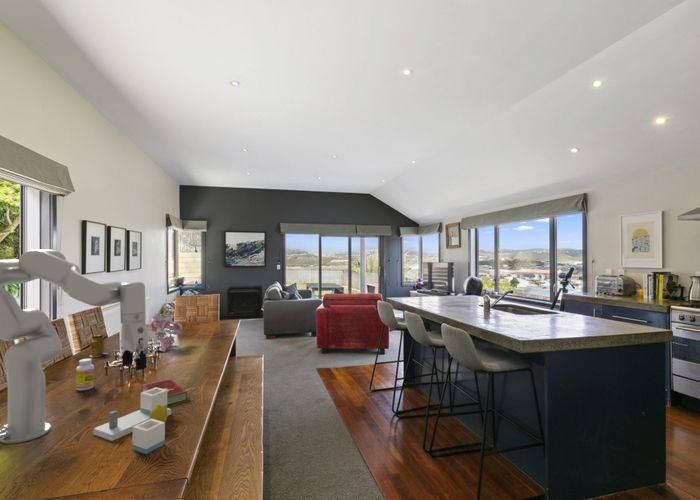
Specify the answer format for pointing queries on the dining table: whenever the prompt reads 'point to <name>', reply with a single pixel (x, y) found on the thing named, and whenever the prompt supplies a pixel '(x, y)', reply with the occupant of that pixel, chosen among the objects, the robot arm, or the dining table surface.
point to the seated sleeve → (152, 399)
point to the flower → (160, 325)
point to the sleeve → (148, 436)
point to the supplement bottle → (85, 375)
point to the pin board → (121, 424)
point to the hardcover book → (168, 390)
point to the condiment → (97, 346)
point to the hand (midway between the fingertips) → (134, 367)
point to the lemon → (159, 413)
